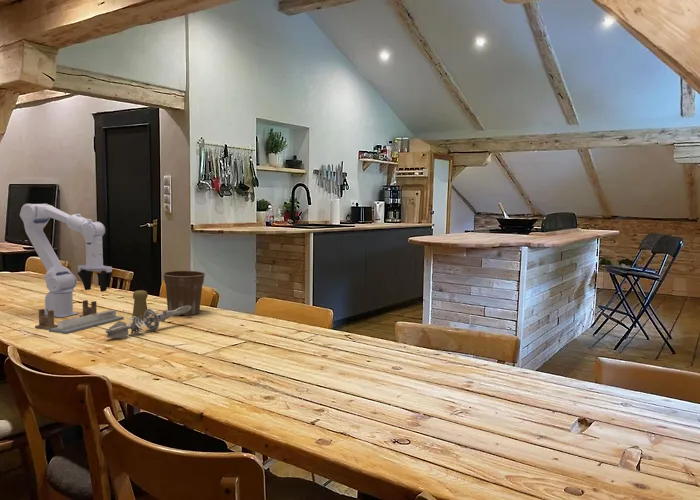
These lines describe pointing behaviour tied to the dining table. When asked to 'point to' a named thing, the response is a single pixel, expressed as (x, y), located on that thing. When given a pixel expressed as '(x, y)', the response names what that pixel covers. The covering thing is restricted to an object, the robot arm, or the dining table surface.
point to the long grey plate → (86, 325)
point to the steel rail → (86, 319)
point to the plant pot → (184, 290)
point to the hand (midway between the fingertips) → (95, 290)
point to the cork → (139, 303)
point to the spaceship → (143, 322)
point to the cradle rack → (48, 321)
